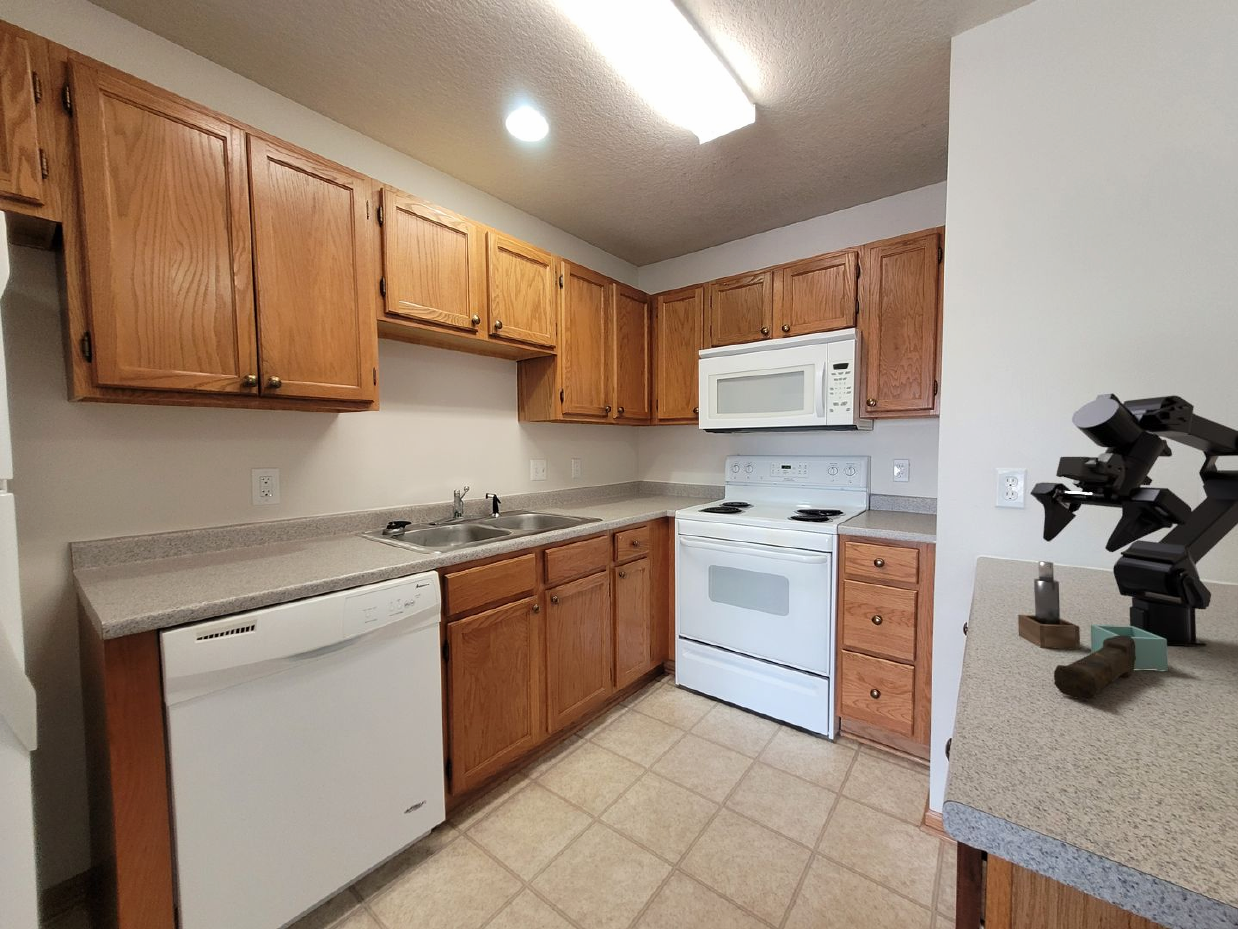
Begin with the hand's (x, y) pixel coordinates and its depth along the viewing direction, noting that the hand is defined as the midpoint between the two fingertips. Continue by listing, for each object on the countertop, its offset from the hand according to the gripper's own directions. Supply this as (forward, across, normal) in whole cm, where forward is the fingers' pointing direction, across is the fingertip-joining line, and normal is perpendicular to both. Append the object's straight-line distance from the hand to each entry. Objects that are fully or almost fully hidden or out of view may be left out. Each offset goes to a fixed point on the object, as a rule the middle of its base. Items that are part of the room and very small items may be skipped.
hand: (1075, 545), depth 75 cm
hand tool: (+19, +11, +2) cm, 21 cm away
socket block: (+14, -2, +8) cm, 17 cm away
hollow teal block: (+13, +6, +10) cm, 17 cm away
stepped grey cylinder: (+14, -2, +8) cm, 17 cm away
